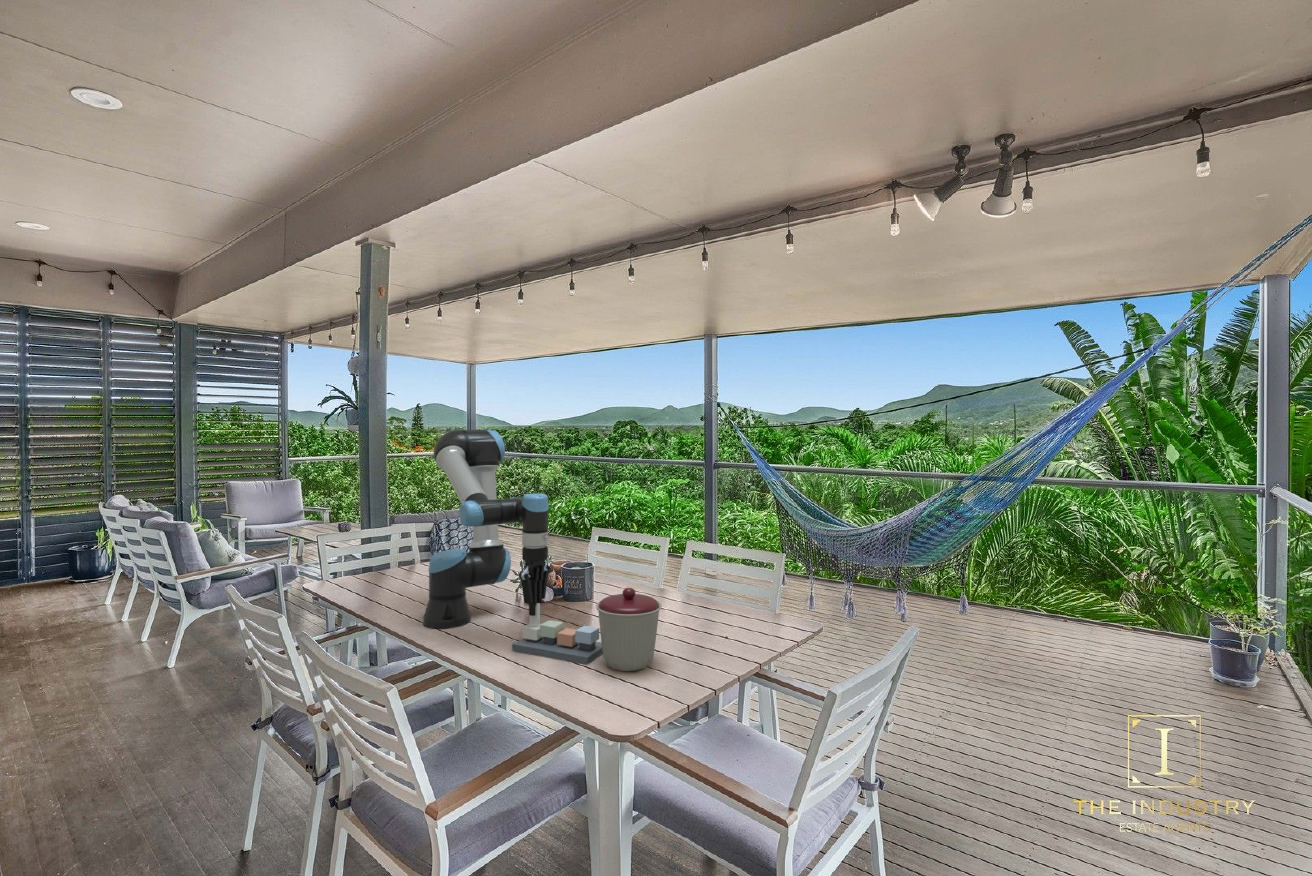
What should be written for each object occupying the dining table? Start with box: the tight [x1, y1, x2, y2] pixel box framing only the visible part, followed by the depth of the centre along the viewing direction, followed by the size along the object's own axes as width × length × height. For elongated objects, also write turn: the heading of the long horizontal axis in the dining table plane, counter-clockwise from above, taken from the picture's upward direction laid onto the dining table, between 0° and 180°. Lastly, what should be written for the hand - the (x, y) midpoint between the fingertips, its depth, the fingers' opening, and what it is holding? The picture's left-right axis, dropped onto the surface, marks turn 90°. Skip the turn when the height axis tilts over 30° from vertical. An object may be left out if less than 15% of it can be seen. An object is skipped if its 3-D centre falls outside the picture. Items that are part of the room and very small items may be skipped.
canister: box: [595, 587, 663, 672], centre depth 164 cm, size 18×18×21 cm
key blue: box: [575, 625, 600, 645], centre depth 170 cm, size 5×5×3 cm
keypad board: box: [511, 637, 603, 665], centre depth 174 cm, size 25×12×4 cm, turn 67°
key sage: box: [540, 620, 565, 638], centre depth 175 cm, size 5×5×3 cm
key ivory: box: [521, 623, 543, 641], centre depth 177 cm, size 5×5×3 cm
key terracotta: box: [557, 627, 578, 647], centre depth 173 cm, size 5×5×3 cm
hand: (534, 625), depth 177 cm, fingers closed
